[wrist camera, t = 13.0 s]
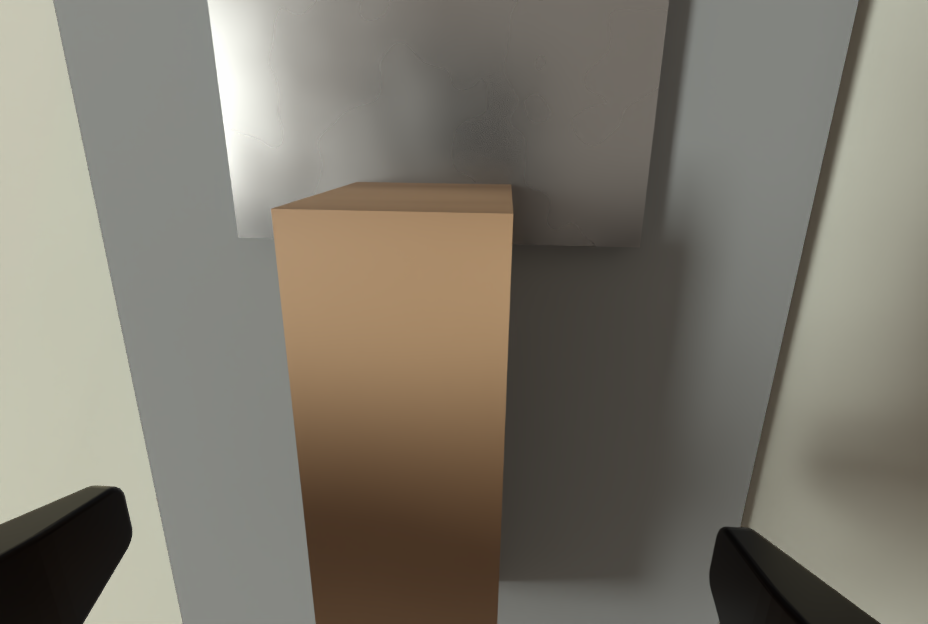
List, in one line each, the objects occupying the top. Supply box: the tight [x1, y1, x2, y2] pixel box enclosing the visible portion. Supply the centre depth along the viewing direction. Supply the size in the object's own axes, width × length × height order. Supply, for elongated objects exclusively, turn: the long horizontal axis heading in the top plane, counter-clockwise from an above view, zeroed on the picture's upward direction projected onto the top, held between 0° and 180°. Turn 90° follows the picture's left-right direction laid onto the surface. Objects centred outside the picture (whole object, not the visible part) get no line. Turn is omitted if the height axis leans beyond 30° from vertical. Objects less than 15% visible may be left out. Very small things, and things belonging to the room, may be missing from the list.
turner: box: [208, 0, 669, 624], centre depth 8 cm, size 14×7×4 cm, turn 0°
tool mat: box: [53, 0, 859, 624], centre depth 11 cm, size 22×13×1 cm, turn 179°
